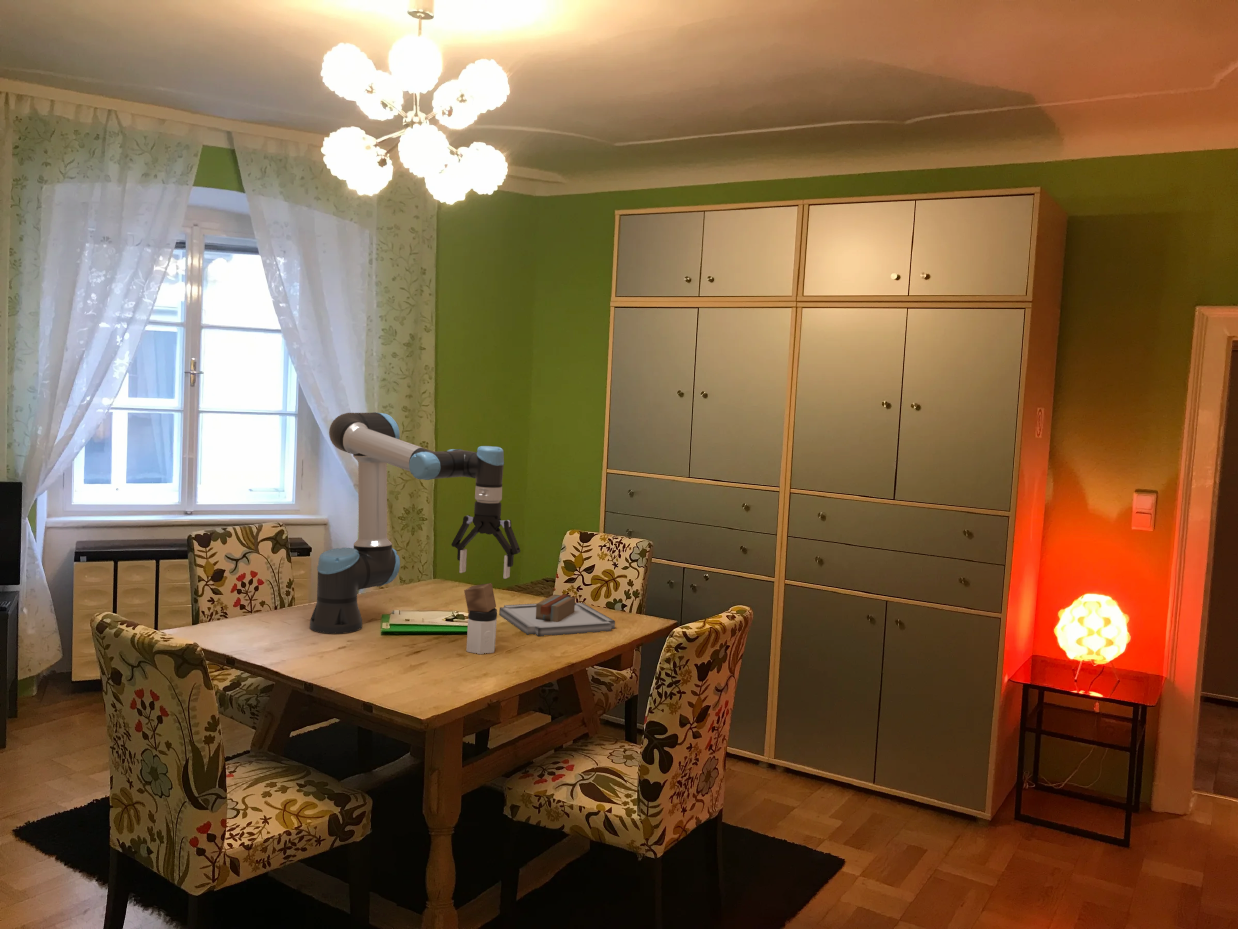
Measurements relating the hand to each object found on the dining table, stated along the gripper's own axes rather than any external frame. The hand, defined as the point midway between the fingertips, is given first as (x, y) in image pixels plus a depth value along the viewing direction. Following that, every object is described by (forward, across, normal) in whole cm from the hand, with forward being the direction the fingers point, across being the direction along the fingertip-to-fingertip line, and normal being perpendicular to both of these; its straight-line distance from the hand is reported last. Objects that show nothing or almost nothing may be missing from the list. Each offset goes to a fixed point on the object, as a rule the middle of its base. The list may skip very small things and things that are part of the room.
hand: (484, 575), depth 281 cm
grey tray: (+23, +8, +41) cm, 48 cm away
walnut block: (+10, 0, 0) cm, 10 cm away
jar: (+22, 0, 0) cm, 22 cm away
